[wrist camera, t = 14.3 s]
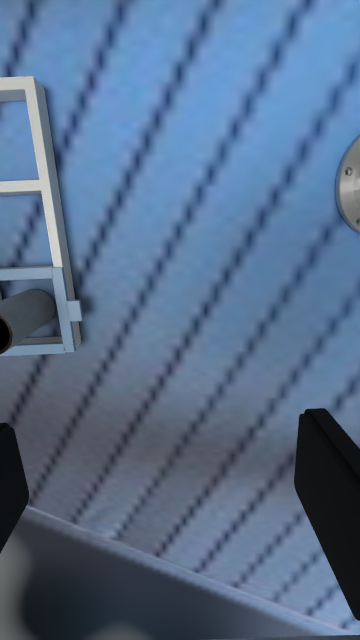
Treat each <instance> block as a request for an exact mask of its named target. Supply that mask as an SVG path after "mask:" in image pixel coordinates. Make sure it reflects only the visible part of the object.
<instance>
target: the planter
mask: <svg viewBox="0 0 360 640" xmlns="http://www.w3.org/2000/svg"><path fill="white" fill-rule="evenodd" d="M54 314H55V304H54V301H53V299H52V298H51V297H50V296H49V295H48V294H47V293H46V292H44V291H42V290H38V289H31V290H27V291H25V292H22V293H19V294H17V295H14V296H12V297H9V298H7V299H4V300H2V301H0V354H3V353H5V352H6V351H8V350H9V349H10V348H12V347H13V346H15V345H16V344H18V343H19V342H20V341H22V340H23V339H25V338H26V337H28V336H29V335H30V334H32V333H33V332H35V331H36V330H38V329H39V328H40V327H42V326H43V325H45V324H46V323H47V322H49V321H50V320H51V319H52V318H53V316H54Z"/></svg>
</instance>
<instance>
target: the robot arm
mask: <svg viewBox="0 0 360 640" xmlns="http://www.w3.org/2000/svg"><path fill="white" fill-rule="evenodd" d="M345 171H346V175H345ZM335 194H336V201H337V205H338V208H339V211H340V214H341V215H342V217H343V218H344V220H345V222H346V223H347V224H348V225H349V226H350V227H351V228H352V229H353V230H355V231H356V232H358V233H360V135H359V136H358V137H357V138H356V139H355V140H354V141H353V143H352V144H351V145H350V146H349V148H348V149H347V151H346V153H345V155H344V156H343V158H342V161H341V163H340V166H339V168H338V172H337V177H336V185H335ZM356 220H357V223H356ZM294 484H295V489H296V492H297V495H298V497H299V499H300V501H301V503H302V505H303V508H304V510H305V512H306V514H307V516H308V518H309V521H310V523H311V525H312V527H313V529H314V531H315V534H316V536H317V538H318V540H319V542H320V544H321V546H322V549H323V551H324V553H325V555H326V557H327V559H328V562H329V564H330V566H331V568H332V570H333V572H334V575H335V577H336V579H337V581H338V583H339V585H340V587H341V590H342V592H343V594H344V596H345V598H346V600H347V603H348V605H349V607H350V609H351V611H352V613H353V615H354V617H355V618H356V619H357V620H358V621H360V449H359V448H358V446H357V445H356V444H355V443H354V442H353V441H352V439H351V438H350V437H349V436H348V435H347V433H346V432H345V431H344V430H343V429H342V428H341V426H340V425H339V424H338V423H337V422H336V421H335V419H334V418H333V417H332V416H331V415H330V413H329V412H328V411H327V410H326V409H324V408H320V409H306V410H305V412H304V414H300V416H299V426H298V438H297V451H296V463H295V476H294ZM28 499H29V490H28V486H27V482H26V478H25V473H24V469H23V465H22V461H21V456H20V452H19V448H18V443H17V439H16V435H15V431H14V429H13V428H12V427H10V426H9V425H8V424H7V423H0V553H1V551H2V549H3V547H4V546H5V544H6V542H7V540H8V538H9V536H10V535H11V533H12V531H13V529H14V527H15V525H16V524H17V522H18V520H19V518H20V516H21V515H22V513H23V511H24V509H25V507H26V505H27V503H28ZM214 640H360V635H339V636H292V637H268V638H240V639H214Z"/></svg>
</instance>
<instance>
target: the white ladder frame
mask: <svg viewBox="0 0 360 640" xmlns="http://www.w3.org/2000/svg"><path fill="white" fill-rule="evenodd" d="M7 101H27V106H28V112H29V118H30V124H31V130H32V137H33V143H34V149H35V155H36V161H37V167H38V174H39V180H28V181H6V182H0V196H5V195H27V194H42V198H43V205H44V211H45V217H46V223H47V229H48V235H49V242H50V248H51V254H52V260H53V266H33V267H11V268H0V281H1V280H23V279H45V278H52V279H53V286H54V292H55V298H56V304H57V310H58V316H59V322H60V328H61V334H62V336H58V337H37V338H25V339H23V340H22V341H20V342H19V343H18V344H16V345H15V346H13V347H12V348H10V349H9V350H8V351H6V352H5V353H3V354H0V356H14V355H35V354H57V353H66V352H75V351H76V349H77V348H78V346H79V345H80V344H81V343H82V342H81V335H80V329H79V322H78V321H82V320H83V313H82V306H81V300H75V294H74V288H73V281H72V274H71V267H70V260H69V253H68V246H67V240H66V233H65V226H64V219H63V212H62V205H61V198H60V192H59V185H58V178H57V171H56V164H55V157H54V151H53V144H52V137H51V130H50V123H49V116H48V109H47V103H46V96H45V89H44V87H43V86H42V85H41V84H40V83H39V82H38V81H37V80H36V79H35V78H34V76H28V77H6V78H0V102H7ZM0 301H2V297H1V292H0Z"/></svg>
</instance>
